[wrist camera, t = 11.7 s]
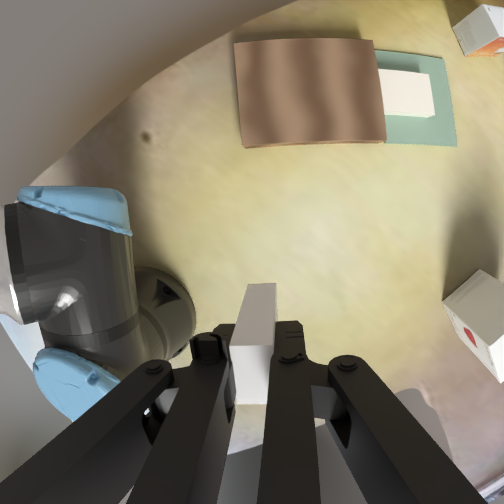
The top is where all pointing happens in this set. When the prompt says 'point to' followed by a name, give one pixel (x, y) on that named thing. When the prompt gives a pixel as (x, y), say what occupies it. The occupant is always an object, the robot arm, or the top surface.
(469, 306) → the supplement box
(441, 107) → the mat
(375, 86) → the plate
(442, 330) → the top surface
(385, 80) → the tile
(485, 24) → the small box
